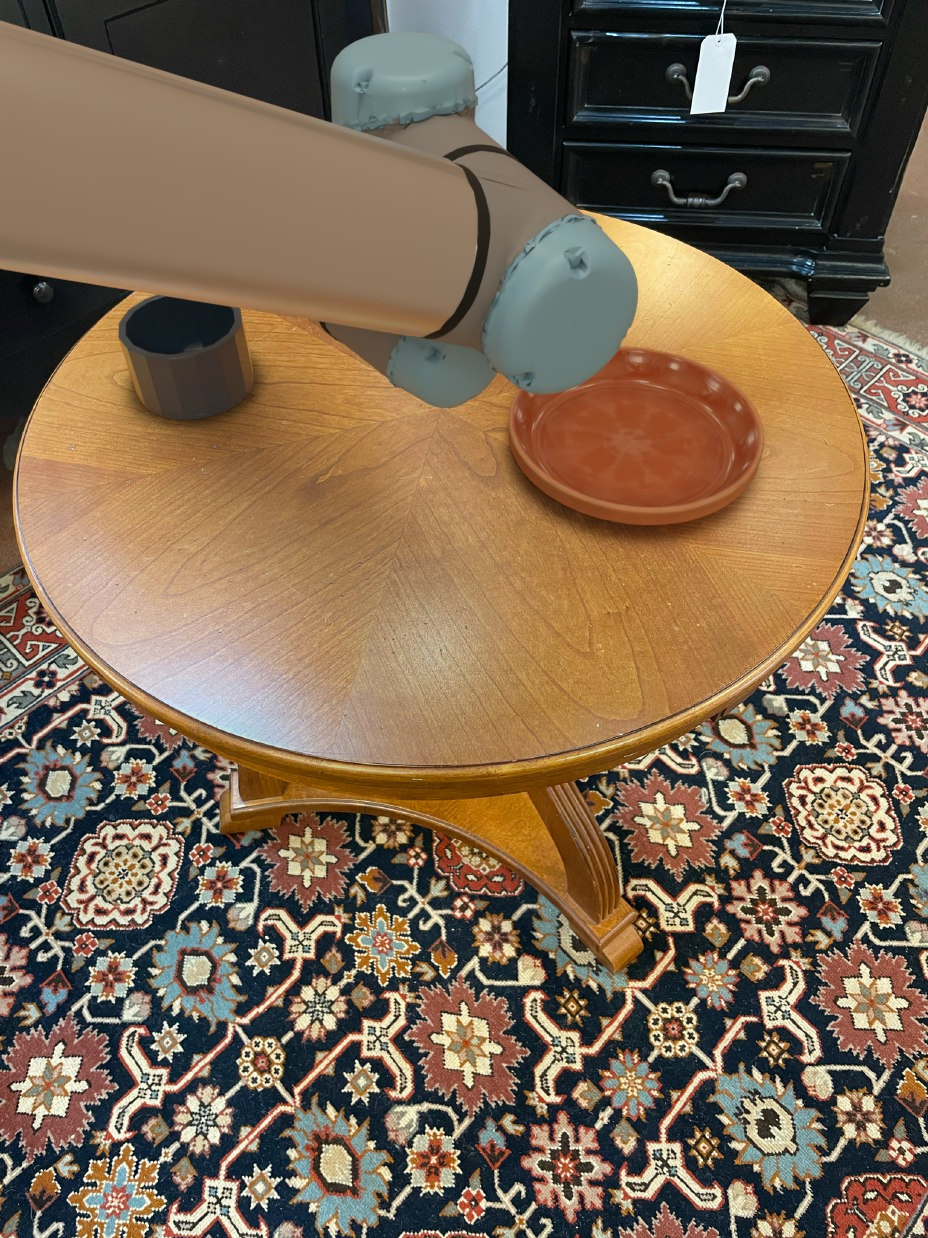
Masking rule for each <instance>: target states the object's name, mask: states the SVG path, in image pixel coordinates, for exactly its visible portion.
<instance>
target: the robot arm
mask: <svg viewBox="0 0 928 1238" xmlns="http://www.w3.org/2000/svg"><path fill="white" fill-rule="evenodd" d="M330 104H331V105H330V106H331V122H330V121H327V120H324V119H321V118H320V119H319V118H317V117H314V116H310V115H309V114H304V113H301V112H297V111H294V110H292V109H288V108H285V107H281V106H278V105H275V104H271V103H268V102H265V101H262V100H259V99H256V98H253V97H249V96H246V95H242V94H239V93H237V92H233V91H230V90H227V89H223V88H220V87H217V86H213V85H210V84H207V83H203V82H200V81H197V80H194V79H191V78H187V77H184V76H182V75H178V74H175V73H172V72H168V71H165V70H162V69H159V68H155V67H152V66H149V65H146V64H143V63H139V62H136V61H133V60H129V59H127V58H123V57H119V56H117V55H113V54H110V53H107V52H104V51H100V50H97V49H94V48H90V47H87V46H85V45H80V44H78V43H74V42H71V41H68V40H65V39H61V38H58V37H55V36H52V35H48V34H45V33H41V32H39V31H37V30H36V31H35V30H32V29H29V28H27V27H22V26H20V25H17V24H14V23H13V24H12V23H10V22H6V21H4V20H0V270H4V271H10V272H16V273H23V274H28V275H29V274H30V275H34V276H40V277H41V276H42V277H47V278H54V279H58V280H59V279H60V280H65V281H72V282H78V283H83V284H91V285H96V286H101V287H107V288H114V289H121V290H126V291H133V292H138V293H144V294H149V295H150V294H151V295H155V296H156V295H162V296H168V297H175V298H181V299H187V300H193V301H199V302H205V303H211V304H217V305H223V306H229V307H236V308H240V309H241V310H242V309H243V310H249V311H254V312H260V313H267V314H273V315H277V316H278V315H279V316H284V317H291V318H297V319H304V320H308V321H309V322H310V323H312V324H313V325H315V326H316V327H317V328H319V329H320V330H321V331H323V332H324V333H325V334H327V335H328V336H330V337H331V338H333V339H334V340H335V341H337V342H339V343H341V344H343V345H344V346H345V347H346V348H347V349H349V350H350V351H351V352H353V353H354V354H356V355H357V356H358V357H360V358H361V360H363V361H365V362H366V363H367V364H368V365H370V366H371V367H372V368H373V369H375V370H376V371H377V372H379V373H380V374H381V375H382V376H384V377H385V378H386V379H387V380H388V381H389V383H390V384H391V385H392V386H393V387H395V388H397V389H402V390H403V391H405V392H407V393H409V394H410V395H412V396H414V397H416V398H417V399H419V400H420V401H422V402H424V403H425V404H427V405H429V406H432V407H434V408H438V409H453V408H457V407H460V406H462V405H464V404H466V403H467V402H469V401H471V400H472V399H476V398H477V397H478V396H479V395H480V394H482V393H483V392H484V391H485V390H486V389H487V387H488V386H490V384H491V383H492V382H493V381H494V379H495V378H496V376H497V375H498V374H501V375H502V376H503V377H504V378H506V380H507V381H508V382H510V383H511V384H513V385H514V386H516V387H517V388H518V389H519V388H520V389H522V390H524V391H526V392H529V393H533V394H541V395H546V394H555V393H559V392H563V391H566V390H569V389H572V388H574V387H576V386H579V385H581V384H582V383H584V382H586V381H587V380H589V379H590V378H592V377H593V376H594V375H596V374H597V373H598V372H599V371H600V370H601V369H603V368H604V367H605V365H606V364H607V363H608V362H609V361H610V360H611V359H612V358H613V357H614V355H615V354H616V353H617V351H618V350H619V348H620V347H621V345H622V342H623V341H624V340H625V338H627V335H628V331H629V329H630V328H631V327H632V326H633V323H634V320H635V317H636V313H637V308H638V302H639V285H638V278H637V275H636V271H635V268H634V266H633V264H632V263H631V260H630V259H629V257H628V256H627V255H626V253H625V252H624V251H623V250H622V249H621V248H620V247H619V246H618V244H617V243H615V242H614V241H613V239H611V237H610V236H609V235H608V234H607V233H606V232H605V231H604V230H603V228H602V226H601V225H599V224H598V222H597V219H596V218H595V217H593V216H591V215H589V214H584V213H583V212H582V211H581V210H579V209H578V208H577V207H576V206H575V205H573V204H571V202H569V201H568V200H567V199H566V198H565V197H564V196H562V195H561V194H559V193H558V192H557V191H556V190H554V189H553V188H552V187H551V186H550V185H549V184H547V183H546V182H545V181H543V180H542V179H541V178H540V177H539V176H537V175H536V174H534V173H533V172H532V171H531V170H530V169H529V168H527V167H526V166H525V165H523V164H522V163H521V162H520V161H519V160H518V159H517V158H516V157H515V156H514V155H512V154H511V152H509V151H508V150H507V149H505V148H504V146H502V145H501V144H499V143H498V142H497V141H496V140H495V139H494V138H493V137H491V136H490V135H489V134H488V133H487V132H485V131H484V130H483V129H482V128H481V127H480V126H479V125H477V123H476V107H477V106H479V97H478V95H477V94H476V83H475V69H474V64H473V62H472V59H471V56H470V54H469V53H468V52H467V50H466V49H465V48H464V47H463V46H461V45H460V44H459V43H457V42H456V41H454V40H452V39H450V38H447V37H444V36H442V35H438V34H434V33H429V32H422V31H421V32H420V31H392V32H384V33H379V34H374V35H370V36H366V37H363V38H361V39H358V40H355V41H354V42H352V43H350V44H349V45H347V46H346V47H344V48H342V50H341V51H340V52H339V53H338V54H337V55H336V56H335V59H334V61H333V63H332V66H331V69H330Z"/></svg>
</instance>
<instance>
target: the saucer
mask: <svg viewBox="0 0 928 1238" xmlns="http://www.w3.org/2000/svg"><path fill="white" fill-rule="evenodd" d="M507 422H508V425H507V426H508V429H507V430H508V433H507V434H508V443H509V446H510V450H511V453H512V455H513V456H512V457H513V458H514V460H515V462H516V463H517V465H518V467H519V469H520V470H521V472H522V473H523V474H524V475H525V476H526V478H528V480H530V482H532V484H533V485H534V486H535V487H537V488H538V489H539V490H541V492H543V493H544V494H545V495H547V496H548V497H550V498H552V499H553V500H555V501H556V502H558V503H560V504H562V505H563V506H565V507H568V508H570V509H572V510H574V511H577V512H579V513H582V514H584V515H587V516H590V517H594V518H597V519H601V520H604V521H610V522H613V523H620V524H625V525H635V526H661V525H662V526H663V525H664V526H665V525H673V524H674V525H675V524H680V523H686V522H689V521H690V522H691V521H695V520H698V519H701V518H704V517H706V516H709V515H711V514H714V513H716V512H718V511H720V510H721V509H724V508H725V507H727V506H728V505H730V504H731V503H733V502H734V501H735V500H736V499H737V498H739V496H741V494H742V493H744V491H745V490H746V489H747V488H748V487H749V485H750V484H751V482H752V481H753V479H754V477H755V475H756V472H757V471H758V468H759V465H760V463H761V460H762V457H763V453H764V451H765V439H766V438H765V430H764V426H763V422H762V419H761V416H760V414H759V412H758V409H756V407H755V405H754V404H753V402H752V401H751V399H750V398H749V397H748V395H746V393H744V391H743V390H742V389H741V388H740V387H739V386H737V385H736V384H735V383H734V382H733V381H731V380H730V379H729V378H727V377H726V376H724V375H723V374H722V373H720V372H718V371H717V370H715V369H713V368H711V367H709V366H708V365H705V364H703V363H701V362H699V361H696V360H695V359H692V358H689V357H686V356H683V355H679V354H677V353H672V352H669V351H664V350H659V349H653V348H647V347H637V346H620V348H619V350H618V351H617V353H616V354H615V355H614V357H613V358H612V359H611V360H610V361H609V362H608V363H607V364H606V365H605V367H604V368H603V369H601V370H600V371H599V372H598V373H597V374H596V375H594V376H593V377H592V378H590V379H589V380H587V381H586V382H584V383H582V384H581V385H579V386H576V387H574V388H572V389H569V390H566V391H563V392H559V393H555V394H546V395H541V394H533V393H529V392H526V391H524V390H522V389H520V388H518V389H517V391H516V392H515V394H514V395H513V398H512V400H511V404H510V407H509V411H508V421H507Z"/></svg>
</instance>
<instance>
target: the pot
mask: <svg viewBox="0 0 928 1238" xmlns="http://www.w3.org/2000/svg"><path fill="white" fill-rule="evenodd" d="M242 313H243V312H242V308H236V307H229V306H223V305H217V304H211V303H205V302H199V301H193V300H187V299H181V298H175V297H168V296H162V295H156V294H155V295H153V296H150V297H146V298H144V299H143V300H141V301H139V302H138V303H137V304H135V305H134V306H131V307H130V308H129V309H128V310H127V311H126V313H125V314H124V315H123V317H122V318H121V319H120V321H119V322H118V335H117V337H118V341H119V344H120V347H121V349H122V353H123V355H124V359H125V362H126V366H127V368H128V371H129V374H130V378H131V380H132V383H133V387H134V390H135V394H136V395H137V396H138V399H139V400H140V403H141V404H142V405H143V407H145V409H147V410H148V411H149V412H151V413H153V414H155V415H157V416H158V417H162V418H165V419H170V420H176V421H177V420H179V421H193V420H194V421H195V420H202V419H207V418H211V417H215V416H217V415H221V414H223V413H225V412H227V411H229V410H231V409H233V408H235V407H236V406H238V405H239V404H240V403H241V402H243V401H244V400H245V399H246V398H247V397H248V396H249V394H250V393H251V391H252V389H253V387H254V382H255V374H254V370H253V363H252V357H251V354H250V346H249V343H248V338H247V333H246V328H245V324H244V318H243V314H242Z"/></svg>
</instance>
